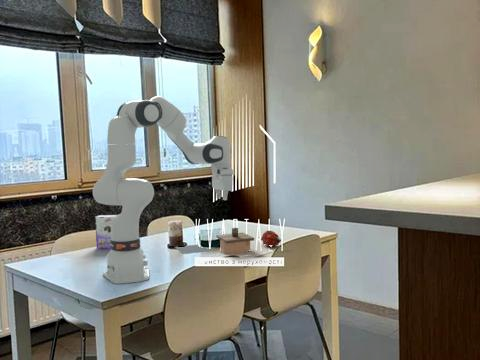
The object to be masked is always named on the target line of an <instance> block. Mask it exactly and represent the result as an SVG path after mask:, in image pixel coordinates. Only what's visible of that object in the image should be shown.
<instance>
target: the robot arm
mask: <svg viewBox="0 0 480 360" xmlns="http://www.w3.org/2000/svg"><path fill="white" fill-rule="evenodd" d="M156 124H157V126H158V127H159V128H160V129H162V131H164V132H165V133H166V135H167V136H168V139H170V140H171V141H172V142H173V143H174V144H175V146H177V148H178V149H179V150H180V151H181V152H182V154H183V156H184V158H185V160H186V162H188V163H189V164H191V165H199V164H200V165H211V174H212V175H211V176H212V177H211V187H212V188H213V189H214V191H215V194H216V199H222V200H223V201H227V200H228V194H229V192H231V191H232V190H233V180H234V179H233V175H234V169H233V168H232V167H231V159H230V158H231V143H230V139H229V138H228V137H226V136H222V135H214V136H212V138H211V139H210V140H208V141H206V142H205V143H199V142H194V141H191V140H190V139H189V138H188V137H187V135H186V134H185V133H184V131H185V129H186V126H187V118H186V116H185V115H184V113H183V112H182V111H181V110H180V109H179V108H178V107H177V106H176V105H174V104H173V103H172V102H171V101H169V100H168V99H166V98H165V97H164V96H161V95H157V96H154V97H152V98H150V100H149V99H144V100H141V99H136V100H131V101H126V102H124V103H122V104H121V105H120V106H119V108H118V109H117V113H116V115H115V117H114V118H111V119H110V120H109V123H108V127H107V135H106V136H107V138H106V141H107V143H106V145H107V161H106V162H107V163H106V167H105V170H104V173H103V175H101V177H100V178H99V179H98V180H97V181H96V182H95V183H94V185H93V188H92V196H93V199H94V200H95V202H96V203H98V204H101V205H106V206H122V208H121V212H120V213H119V214H116V215H117V216H115V217H114V218H113V219H112V221H111V240H110V248H111V249H110V251H109V252H108V253H107V254H106V271H103V272H102V276H103V277H105V278H106V279H108V281H110V282H111V283H112V284H117V285H118V284H131V283H140V282H144V281H148V280H150V267H149V266H148V259H146V257H147V256H146V254H144V250H143V249H142V248H141V247H142V246H141V239H140V233H139V227H140V226H139V225H140V217H141V214H142V213H143V211H144V210H145V208H146V207H147V206H148V205H149V204H150V203H151V202H152V201H153V198H154V196H155V189H154V186H153V184H152V183H151V181H149V180H146V179H142V178H125V174H126V172H127V171H128V170H129V169H131V168H133V167H134V166H135V164H136V163H137V153H136V151H137V149H136V131H137V129H138V128H139V129H140V128H147V127H152V126H154V125H156ZM221 191H222V193H223V194H222V195H221ZM221 197H222V198H221Z"/></svg>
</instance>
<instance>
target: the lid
mask: <svg viewBox="0 0 480 360" xmlns="http://www.w3.org/2000/svg"><path fill="white" fill-rule="evenodd" d="M216 239H218V240H219V241H220V240H222V241H223V242H225V243H235V242H244V241H250V242H252V241H255V237H253V236H252V235H249V234H247V233H245V232H239V228H238V227H231V233H224V234H216Z"/></svg>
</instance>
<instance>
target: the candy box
mask: <svg viewBox="0 0 480 360" xmlns="http://www.w3.org/2000/svg"><path fill="white" fill-rule="evenodd" d="M117 215H118V214H106V215H105V214H104V215H103V214H100V215H99V214H98V215H97V216H94V222H95V238H96V242H95V243H96V250H100V249H101V250H107V249H108V250H111V248H110V240H111V221H112V219H113V218H114V217H115V216H117Z"/></svg>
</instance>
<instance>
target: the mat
mask: <svg viewBox="0 0 480 360" xmlns="http://www.w3.org/2000/svg"><path fill="white" fill-rule="evenodd" d="M184 246H185V247H178V246H174V248H175V249H176V250H177V251H178V252H180V253H181V254H182V255H187V254H195V253H206V252H215V249H213V248H212V249H207V248H201V247H199V246H198V244H191V245H190V244H189V245H184Z"/></svg>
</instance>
